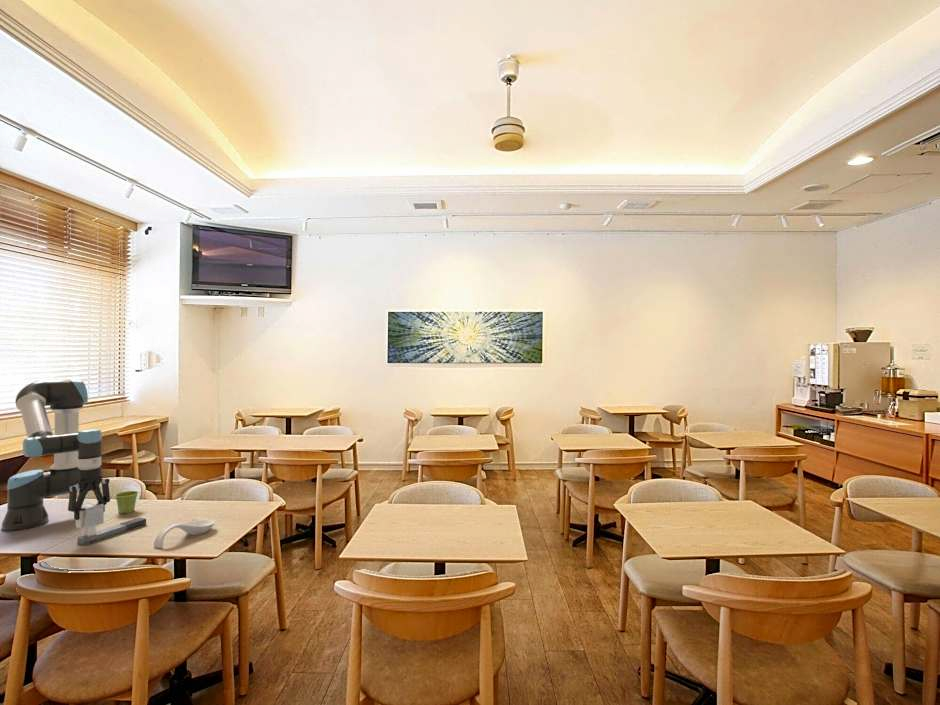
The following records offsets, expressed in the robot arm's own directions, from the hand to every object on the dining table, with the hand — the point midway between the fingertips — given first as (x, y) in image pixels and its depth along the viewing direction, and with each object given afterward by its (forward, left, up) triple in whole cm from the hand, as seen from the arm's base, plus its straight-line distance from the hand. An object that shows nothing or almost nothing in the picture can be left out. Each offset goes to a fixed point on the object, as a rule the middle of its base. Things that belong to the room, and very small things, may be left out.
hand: (89, 523), depth 188 cm
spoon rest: (+32, +18, -8) cm, 37 cm away
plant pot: (-24, +29, -7) cm, 38 cm away
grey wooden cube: (0, 0, 0) cm, 0 cm away
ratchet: (0, +9, -7) cm, 12 cm away
